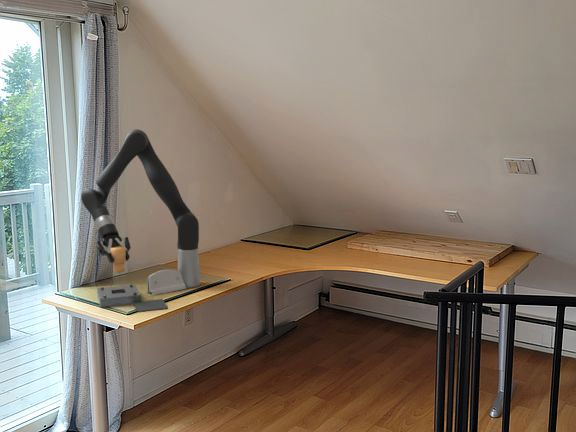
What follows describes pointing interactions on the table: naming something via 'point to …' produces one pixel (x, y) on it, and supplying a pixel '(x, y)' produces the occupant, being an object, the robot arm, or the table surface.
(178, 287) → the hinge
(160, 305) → the mat
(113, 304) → the housing
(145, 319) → the table surface
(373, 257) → the table surface
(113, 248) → the wooden block
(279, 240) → the table surface
